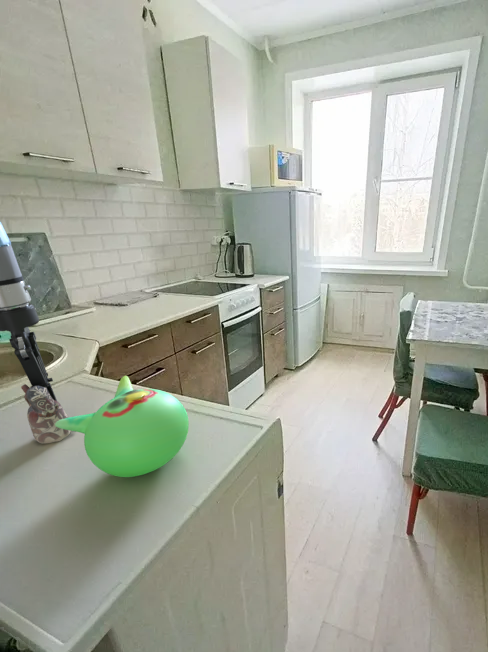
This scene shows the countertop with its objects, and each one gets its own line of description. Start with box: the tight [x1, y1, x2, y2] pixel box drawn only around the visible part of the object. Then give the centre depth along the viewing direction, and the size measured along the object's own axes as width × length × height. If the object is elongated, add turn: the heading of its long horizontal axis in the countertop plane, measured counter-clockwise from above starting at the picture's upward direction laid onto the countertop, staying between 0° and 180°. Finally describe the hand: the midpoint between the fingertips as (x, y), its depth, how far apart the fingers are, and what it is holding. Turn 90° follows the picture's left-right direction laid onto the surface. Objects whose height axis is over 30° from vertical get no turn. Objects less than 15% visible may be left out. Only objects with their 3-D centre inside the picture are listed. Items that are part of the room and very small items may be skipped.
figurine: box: [20, 383, 72, 444], centre depth 73 cm, size 7×7×12 cm
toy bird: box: [55, 375, 190, 478], centre depth 63 cm, size 18×17×15 cm
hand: (53, 411), depth 78 cm, fingers closed
